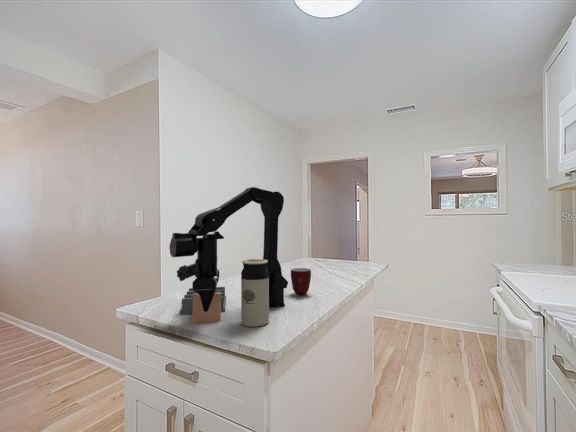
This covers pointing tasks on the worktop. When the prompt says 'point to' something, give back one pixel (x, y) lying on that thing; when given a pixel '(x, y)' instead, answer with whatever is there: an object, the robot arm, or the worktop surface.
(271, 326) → the worktop surface
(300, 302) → the worktop surface
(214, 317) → the tile
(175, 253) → the robot arm
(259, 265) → the travel mug
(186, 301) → the coaster holder
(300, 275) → the mug
